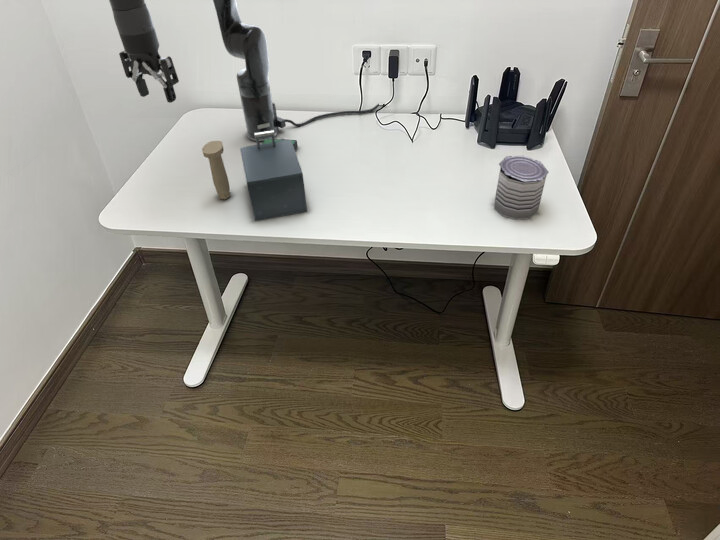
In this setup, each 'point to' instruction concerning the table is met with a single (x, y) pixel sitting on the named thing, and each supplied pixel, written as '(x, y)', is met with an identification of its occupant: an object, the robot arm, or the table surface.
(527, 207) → the can
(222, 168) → the handle
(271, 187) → the bin
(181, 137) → the table surface
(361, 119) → the table surface
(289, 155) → the bin lid
